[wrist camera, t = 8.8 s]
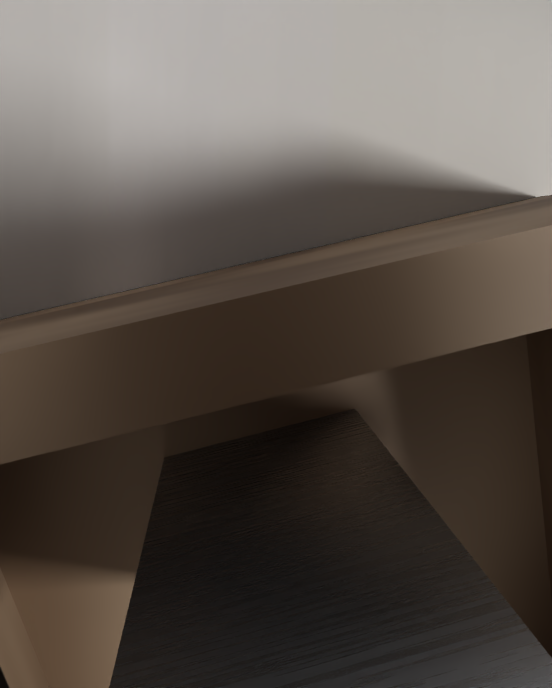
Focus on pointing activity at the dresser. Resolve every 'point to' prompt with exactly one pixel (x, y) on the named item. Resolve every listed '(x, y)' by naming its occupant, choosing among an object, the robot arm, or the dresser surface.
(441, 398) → the open wooden box
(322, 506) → the grey block
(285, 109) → the dresser surface
